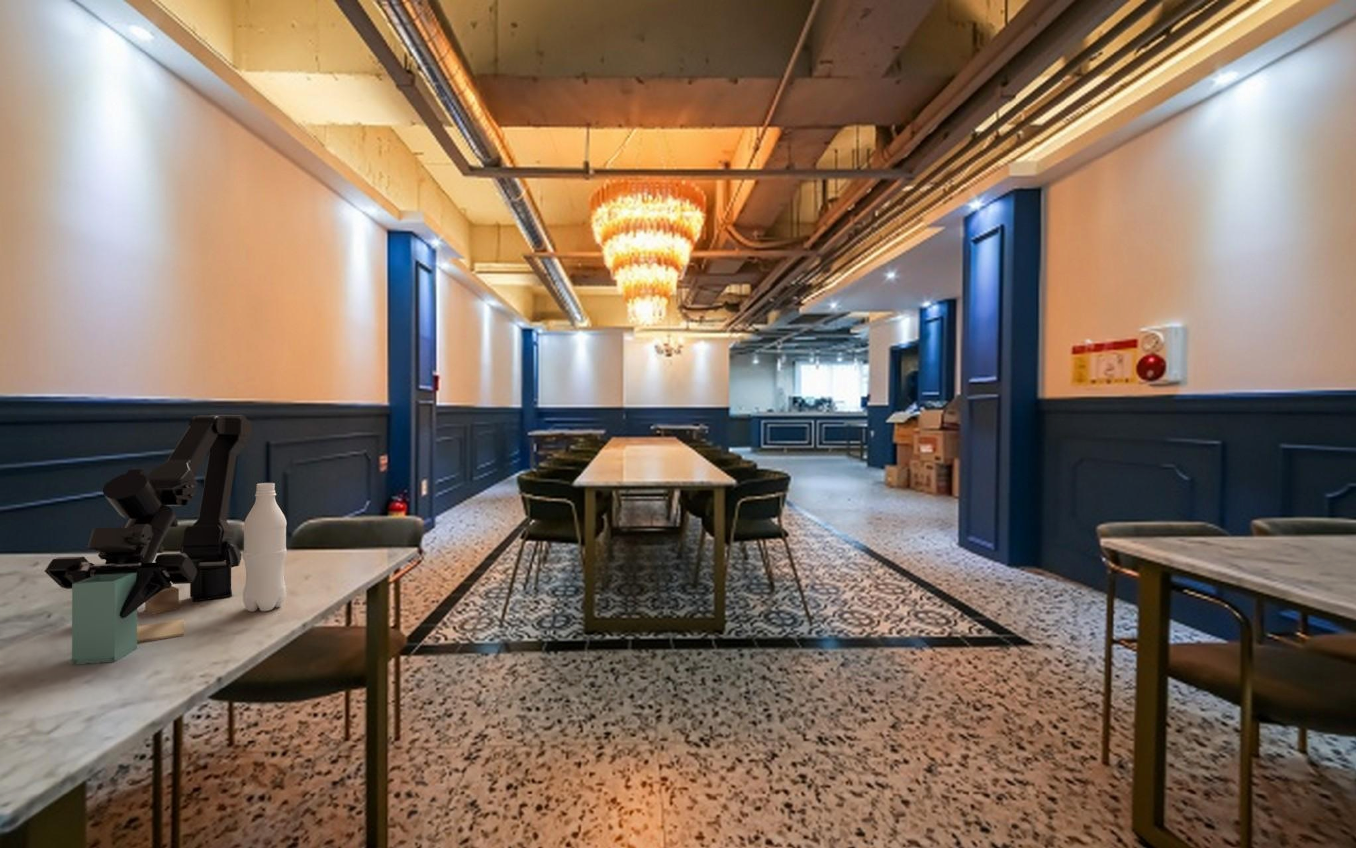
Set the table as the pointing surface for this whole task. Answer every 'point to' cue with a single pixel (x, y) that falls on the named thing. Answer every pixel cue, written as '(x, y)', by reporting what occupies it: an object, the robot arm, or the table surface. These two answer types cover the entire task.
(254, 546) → the water bottle
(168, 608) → the walnut block
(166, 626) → the coaster
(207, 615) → the table surface
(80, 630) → the pot
